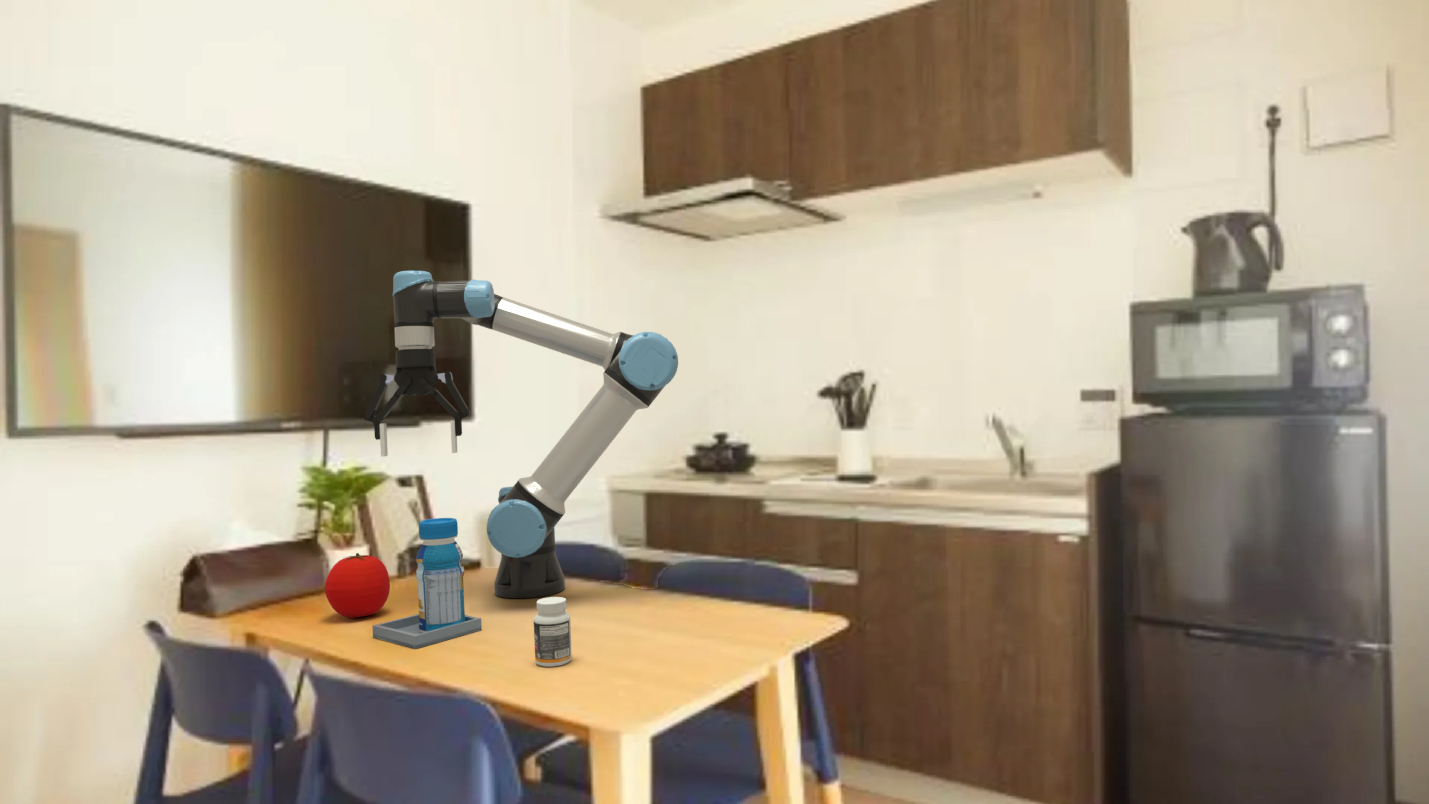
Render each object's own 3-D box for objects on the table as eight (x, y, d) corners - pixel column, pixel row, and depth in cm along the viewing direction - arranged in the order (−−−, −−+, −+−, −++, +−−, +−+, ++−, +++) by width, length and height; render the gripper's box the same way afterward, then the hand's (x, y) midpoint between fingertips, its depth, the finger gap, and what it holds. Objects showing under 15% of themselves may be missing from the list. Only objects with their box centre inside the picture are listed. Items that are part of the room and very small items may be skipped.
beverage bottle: (441, 638, 154) (437, 524, 154) (408, 633, 158) (403, 522, 158) (476, 625, 161) (472, 517, 161) (443, 621, 165) (438, 516, 165)
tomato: (376, 606, 183) (374, 546, 183) (401, 614, 174) (398, 551, 174) (315, 618, 174) (312, 555, 174) (338, 628, 166) (335, 562, 166)
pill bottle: (537, 658, 142) (535, 597, 142) (573, 655, 142) (570, 595, 142) (533, 668, 136) (530, 605, 136) (570, 666, 137) (567, 603, 137)
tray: (438, 620, 169) (437, 609, 169) (481, 630, 160) (481, 618, 160) (372, 637, 158) (372, 625, 158) (415, 649, 150) (415, 636, 150)
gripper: (480, 348, 182) (485, 450, 182) (354, 351, 178) (358, 456, 178) (477, 346, 174) (481, 452, 174) (345, 349, 170) (349, 458, 170)
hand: (419, 454), depth 176 cm, fingers open, 13 cm apart
